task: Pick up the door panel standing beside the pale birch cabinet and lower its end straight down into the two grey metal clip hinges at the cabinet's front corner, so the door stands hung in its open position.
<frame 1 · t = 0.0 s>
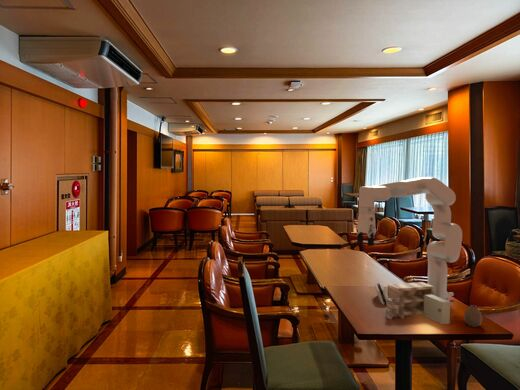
hand: (365, 244, 194), 31 cm above the table, tool pointing down, fingers open, 9 cm apart
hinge: (381, 300, 204), on the table
door: (436, 319, 176), on the table
cabinet: (409, 311, 186), on the table
vase: (472, 325, 169), on the table
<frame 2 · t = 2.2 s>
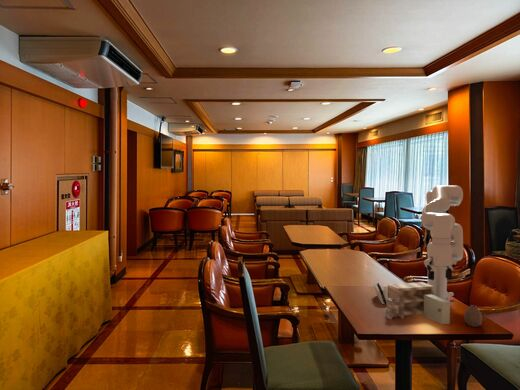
hand: (439, 279, 174), 19 cm above the table, tool pointing down, fingers open, 9 cm apart
nothing on the table moved.
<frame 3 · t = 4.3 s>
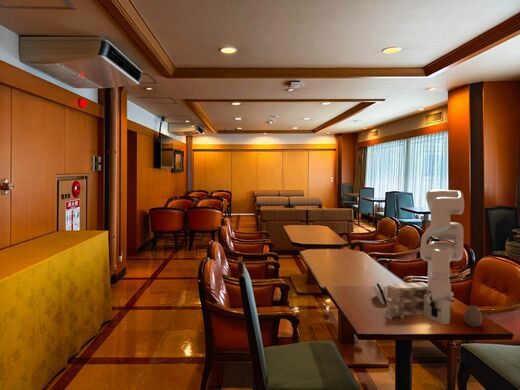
hand: (438, 315, 174), 2 cm above the table, tool pointing down, fingers closed on door, 4 cm apart
door: (436, 319, 176), on the table, touching gripper
everything else where it was.
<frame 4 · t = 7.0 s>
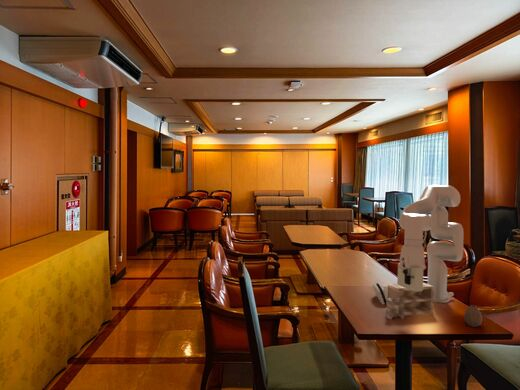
hand: (411, 283, 170), 18 cm above the table, tool pointing down, fingers closed on door, 4 cm apart
door: (409, 287, 171), point 15 cm above the table, touching gripper
everything else where it was.
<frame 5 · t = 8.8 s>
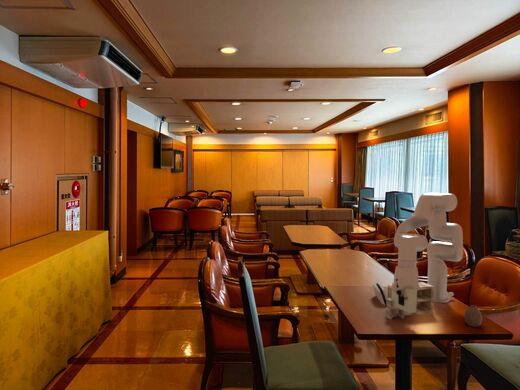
hand: (405, 304, 170), 9 cm above the table, tool pointing down, fingers closed on door, 4 cm apart
door: (403, 308, 171), point 6 cm above the table, touching gripper
everything else where it was.
when the fingers open (4 cm above the table, at t = 10.1 s): door drops 1 cm, on the table.
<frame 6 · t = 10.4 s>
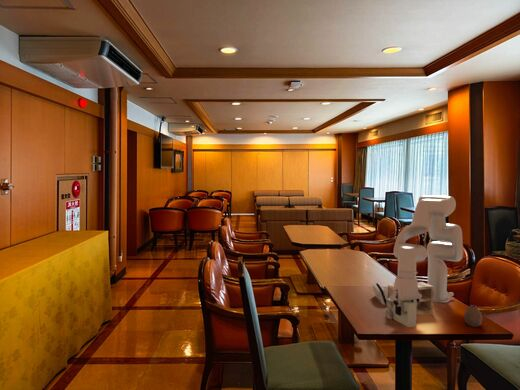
hand: (405, 313, 170), 4 cm above the table, tool pointing down, fingers open, 7 cm apart
door: (403, 322, 171), on the table
everything else where it was.
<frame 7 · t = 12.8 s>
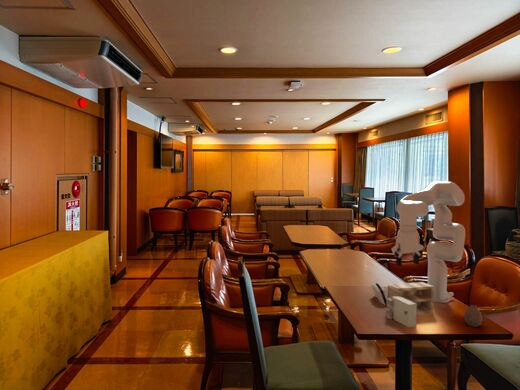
hand: (407, 264, 180), 24 cm above the table, tool pointing down, fingers open, 9 cm apart
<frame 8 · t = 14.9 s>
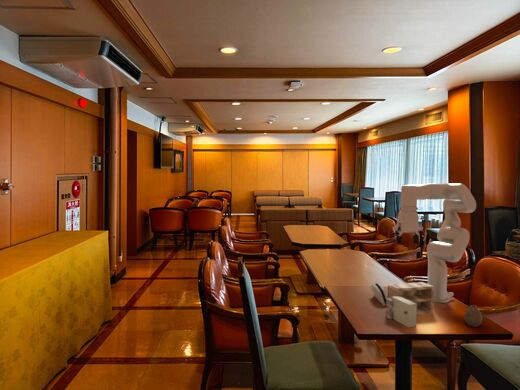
hand: (407, 243, 191), 32 cm above the table, tool pointing down, fingers open, 9 cm apart
at the end: door 0.1 cm from the target spot, on the table; door tilted 0°; the gripper is holding nothing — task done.
